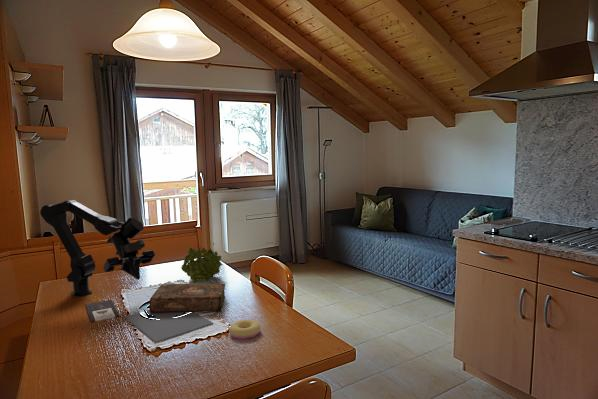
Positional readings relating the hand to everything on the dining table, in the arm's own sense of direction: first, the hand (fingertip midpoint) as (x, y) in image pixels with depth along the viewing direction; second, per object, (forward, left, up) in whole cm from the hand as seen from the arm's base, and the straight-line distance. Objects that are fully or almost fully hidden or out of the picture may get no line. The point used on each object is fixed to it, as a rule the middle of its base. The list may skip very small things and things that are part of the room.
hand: (138, 278), depth 156 cm
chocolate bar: (-2, -13, -10) cm, 17 cm away
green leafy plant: (-8, +32, -10) cm, 34 cm away
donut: (+49, +15, -10) cm, 52 cm away
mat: (+23, +1, -10) cm, 25 cm away
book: (+7, +3, -7) cm, 10 cm away
